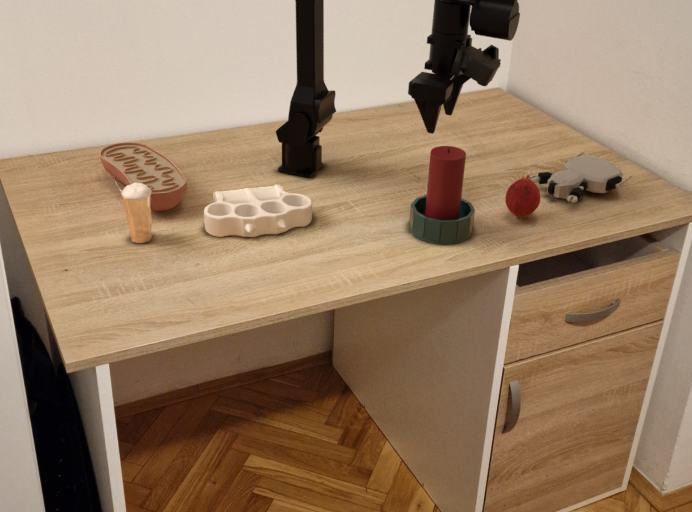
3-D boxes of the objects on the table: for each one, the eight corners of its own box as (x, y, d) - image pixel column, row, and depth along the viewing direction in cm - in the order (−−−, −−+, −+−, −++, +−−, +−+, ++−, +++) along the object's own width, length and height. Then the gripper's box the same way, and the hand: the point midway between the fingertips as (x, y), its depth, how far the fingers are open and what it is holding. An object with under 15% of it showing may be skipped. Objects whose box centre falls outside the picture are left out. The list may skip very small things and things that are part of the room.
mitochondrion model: (95, 174, 169) (91, 148, 166) (146, 163, 173) (144, 137, 170) (146, 225, 153) (143, 197, 150) (201, 211, 158) (199, 184, 155)
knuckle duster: (296, 195, 164) (321, 232, 153) (194, 206, 159) (212, 247, 148) (296, 177, 162) (321, 214, 151) (193, 188, 157) (211, 228, 146)
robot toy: (571, 218, 162) (632, 193, 168) (575, 194, 159) (636, 170, 165) (523, 191, 170) (583, 169, 176) (525, 168, 167) (586, 146, 174)
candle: (419, 230, 153) (426, 151, 145) (430, 216, 158) (437, 139, 150) (452, 237, 152) (460, 158, 144) (462, 222, 156) (470, 145, 148)
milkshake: (123, 232, 151) (116, 174, 145) (156, 231, 151) (151, 174, 146) (120, 245, 147) (113, 187, 141) (154, 245, 148) (148, 187, 142)
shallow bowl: (401, 236, 152) (403, 213, 150) (421, 211, 160) (423, 189, 158) (461, 249, 149) (464, 226, 147) (478, 223, 157) (481, 200, 155)
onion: (536, 227, 156) (543, 183, 152) (501, 223, 157) (507, 179, 153) (537, 212, 161) (544, 169, 157) (503, 208, 162) (509, 165, 157)
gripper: (481, 54, 138) (468, 153, 147) (514, 23, 152) (501, 114, 161) (411, 42, 142) (402, 139, 151) (450, 12, 156) (440, 103, 165)
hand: (439, 123), depth 157 cm, fingers open, 9 cm apart
